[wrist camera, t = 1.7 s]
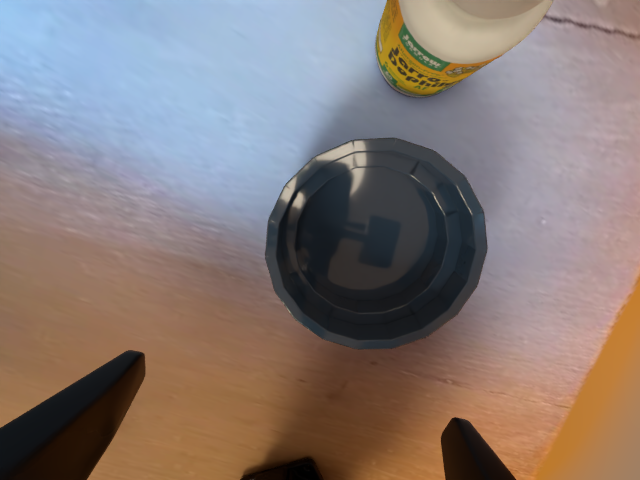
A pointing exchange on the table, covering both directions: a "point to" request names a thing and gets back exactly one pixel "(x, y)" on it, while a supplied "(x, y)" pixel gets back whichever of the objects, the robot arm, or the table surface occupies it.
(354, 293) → the dark gray round dish
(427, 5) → the supplement bottle
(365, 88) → the table surface
